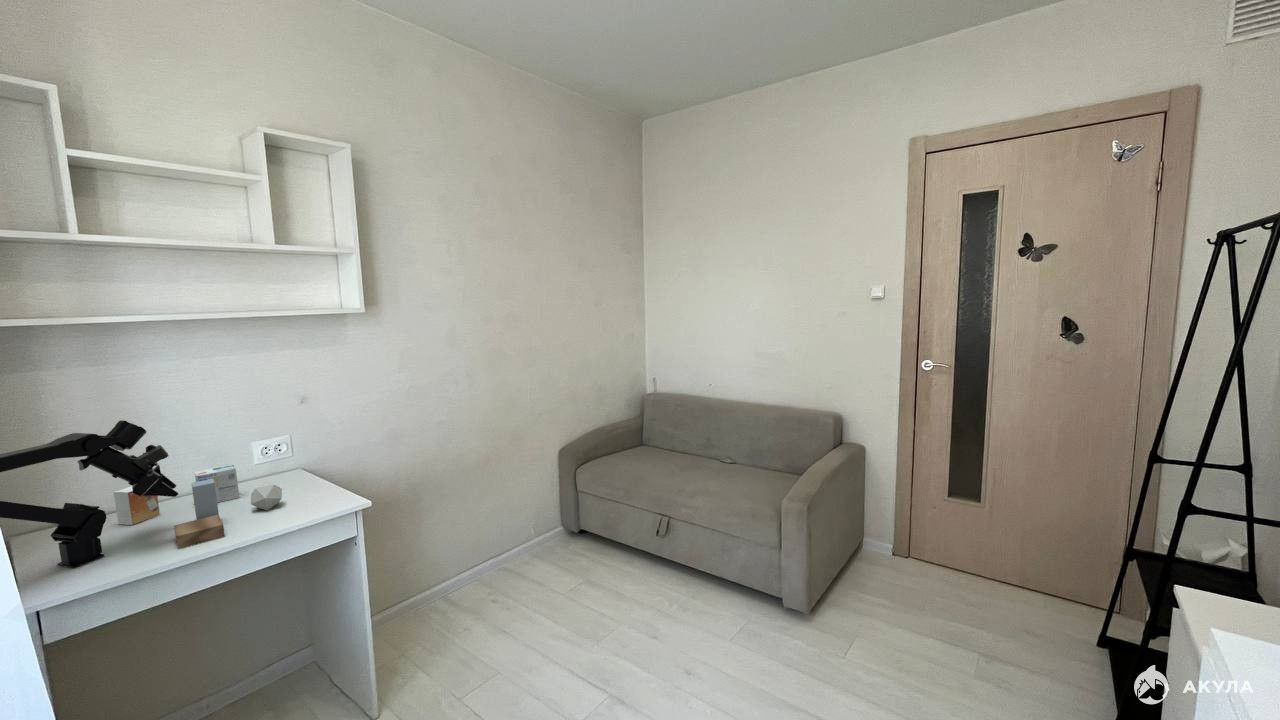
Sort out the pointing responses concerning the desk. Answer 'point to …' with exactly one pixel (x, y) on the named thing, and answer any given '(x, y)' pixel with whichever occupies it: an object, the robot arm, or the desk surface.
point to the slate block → (205, 498)
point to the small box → (134, 507)
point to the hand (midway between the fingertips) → (176, 490)
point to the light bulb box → (221, 481)
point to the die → (266, 496)
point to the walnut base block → (199, 531)
